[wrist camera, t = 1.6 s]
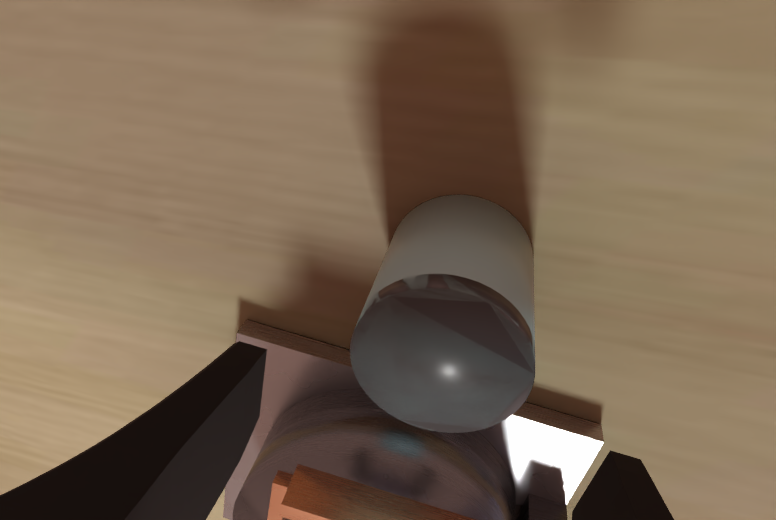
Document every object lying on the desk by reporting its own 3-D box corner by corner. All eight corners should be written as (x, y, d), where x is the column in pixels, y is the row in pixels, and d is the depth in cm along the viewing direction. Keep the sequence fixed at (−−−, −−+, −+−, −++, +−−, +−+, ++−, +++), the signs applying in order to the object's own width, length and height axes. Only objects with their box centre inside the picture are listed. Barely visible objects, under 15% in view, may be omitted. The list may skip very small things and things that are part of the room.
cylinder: (554, 218, 17) (563, 321, 13) (507, 333, 19) (502, 452, 15) (406, 177, 17) (367, 264, 13) (378, 296, 19) (337, 403, 15)
